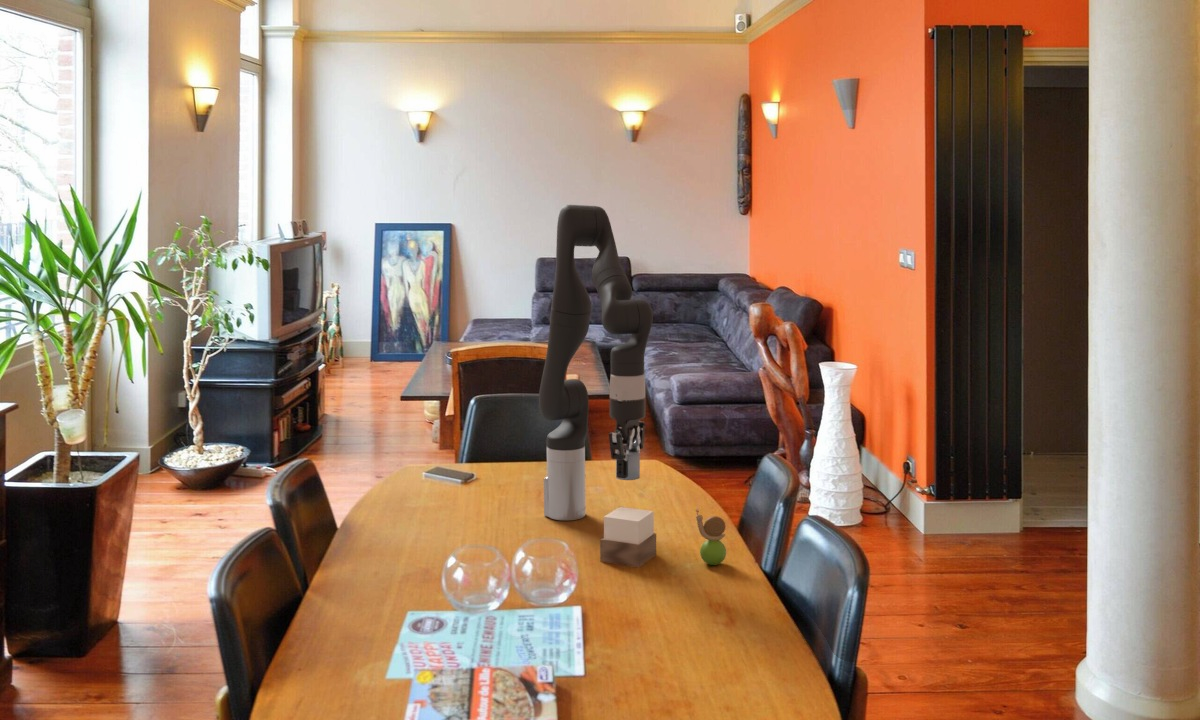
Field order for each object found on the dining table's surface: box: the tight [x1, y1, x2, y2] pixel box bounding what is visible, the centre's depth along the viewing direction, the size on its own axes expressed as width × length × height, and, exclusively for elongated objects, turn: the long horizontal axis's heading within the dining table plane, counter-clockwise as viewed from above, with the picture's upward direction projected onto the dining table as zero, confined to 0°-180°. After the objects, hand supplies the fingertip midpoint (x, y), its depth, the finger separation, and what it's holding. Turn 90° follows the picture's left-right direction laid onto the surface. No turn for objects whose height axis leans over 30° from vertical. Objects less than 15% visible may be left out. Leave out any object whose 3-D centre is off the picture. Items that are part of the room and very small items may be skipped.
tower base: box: [599, 532, 657, 569], centre depth 228 cm, size 9×9×5 cm
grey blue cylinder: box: [615, 451, 641, 481], centre depth 225 cm, size 5×5×5 cm
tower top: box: [603, 506, 655, 545], centre depth 227 cm, size 8×8×5 cm
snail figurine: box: [695, 508, 727, 566], centre depth 223 cm, size 5×6×12 cm
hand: (627, 474), depth 225 cm, fingers closed on grey blue cylinder, 5 cm apart
